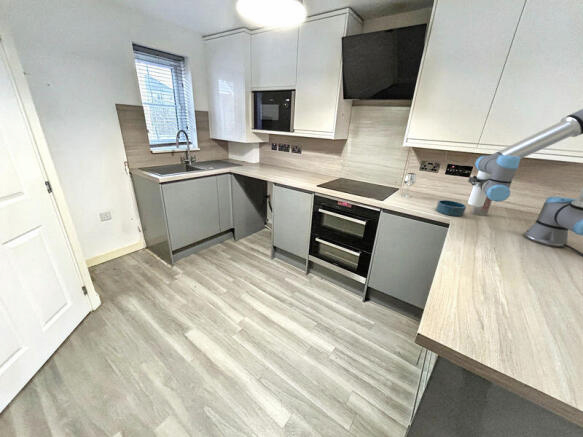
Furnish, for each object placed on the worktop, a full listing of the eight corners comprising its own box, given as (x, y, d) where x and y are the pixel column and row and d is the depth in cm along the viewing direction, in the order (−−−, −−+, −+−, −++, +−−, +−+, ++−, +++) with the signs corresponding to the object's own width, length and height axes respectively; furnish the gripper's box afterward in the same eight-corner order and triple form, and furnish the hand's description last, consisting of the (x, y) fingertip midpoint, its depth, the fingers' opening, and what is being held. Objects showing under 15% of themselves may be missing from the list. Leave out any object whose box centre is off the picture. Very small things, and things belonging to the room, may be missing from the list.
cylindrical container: (486, 206, 130) (503, 161, 121) (473, 206, 130) (489, 160, 121) (477, 202, 137) (492, 159, 127) (464, 202, 137) (479, 158, 127)
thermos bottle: (487, 216, 151) (504, 173, 140) (472, 214, 154) (488, 171, 143) (485, 213, 157) (501, 171, 147) (470, 210, 161) (485, 169, 150)
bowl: (469, 217, 149) (472, 208, 146) (445, 216, 148) (448, 207, 146) (452, 208, 163) (455, 200, 161) (430, 208, 162) (433, 199, 160)
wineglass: (402, 194, 194) (407, 172, 187) (413, 196, 189) (418, 173, 182) (399, 195, 188) (404, 173, 181) (410, 198, 183) (415, 175, 176)
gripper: (464, 191, 119) (459, 182, 138) (514, 198, 111) (501, 188, 129) (469, 176, 116) (463, 169, 135) (521, 182, 108) (507, 174, 127)
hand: (482, 178), depth 132 cm, fingers closed on cylindrical container, 7 cm apart
